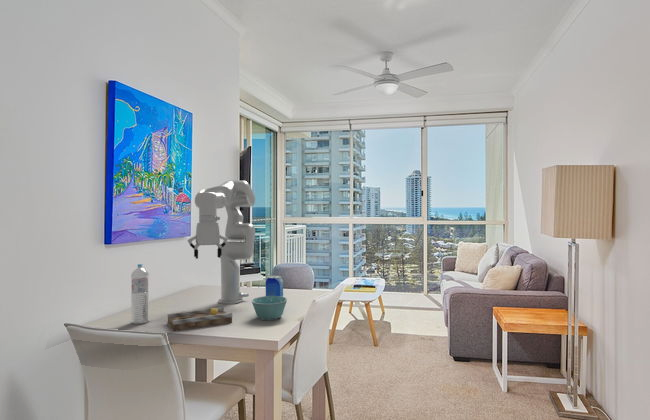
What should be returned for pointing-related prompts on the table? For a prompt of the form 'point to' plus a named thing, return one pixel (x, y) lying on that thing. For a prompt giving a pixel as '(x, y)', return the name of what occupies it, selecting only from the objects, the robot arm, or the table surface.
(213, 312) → the ball
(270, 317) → the bowl
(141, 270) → the water bottle
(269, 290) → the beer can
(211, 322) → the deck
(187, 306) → the table surface
